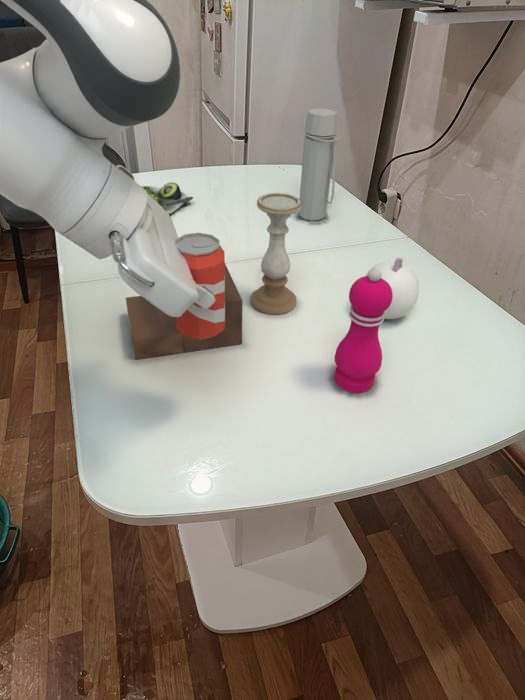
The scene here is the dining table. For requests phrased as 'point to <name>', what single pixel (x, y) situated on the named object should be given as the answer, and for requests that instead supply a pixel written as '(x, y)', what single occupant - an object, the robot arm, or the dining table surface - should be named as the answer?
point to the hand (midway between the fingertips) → (204, 284)
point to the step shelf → (164, 339)
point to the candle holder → (276, 255)
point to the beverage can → (207, 271)
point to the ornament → (399, 287)
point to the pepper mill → (363, 334)
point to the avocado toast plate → (168, 196)
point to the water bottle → (318, 163)
